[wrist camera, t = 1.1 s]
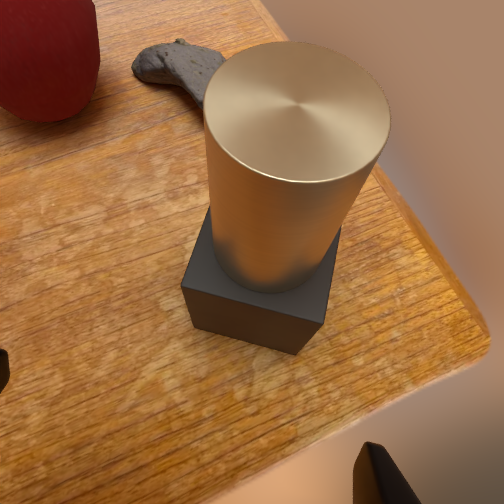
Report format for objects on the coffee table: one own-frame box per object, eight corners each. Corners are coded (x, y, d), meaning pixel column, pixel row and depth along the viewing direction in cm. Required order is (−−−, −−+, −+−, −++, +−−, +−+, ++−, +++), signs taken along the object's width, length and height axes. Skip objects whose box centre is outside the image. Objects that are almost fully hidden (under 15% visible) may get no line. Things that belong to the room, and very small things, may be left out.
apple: (142, 121, 33) (102, -27, 22) (15, 173, 30) (-102, 29, 19) (91, 44, 36) (35, -116, 26) (-27, 83, 33) (-145, -80, 23)
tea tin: (328, 294, 18) (407, 186, 10) (211, 292, 18) (197, 180, 10) (318, 195, 21) (377, 44, 13) (214, 193, 20) (206, 36, 12)
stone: (122, 69, 34) (139, 9, 32) (176, 86, 39) (194, 34, 37) (209, 137, 28) (237, 70, 26) (261, 147, 33) (288, 90, 31)
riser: (296, 355, 25) (323, 324, 18) (193, 327, 25) (179, 285, 18) (315, 261, 28) (346, 201, 21) (223, 237, 28) (221, 170, 21)
